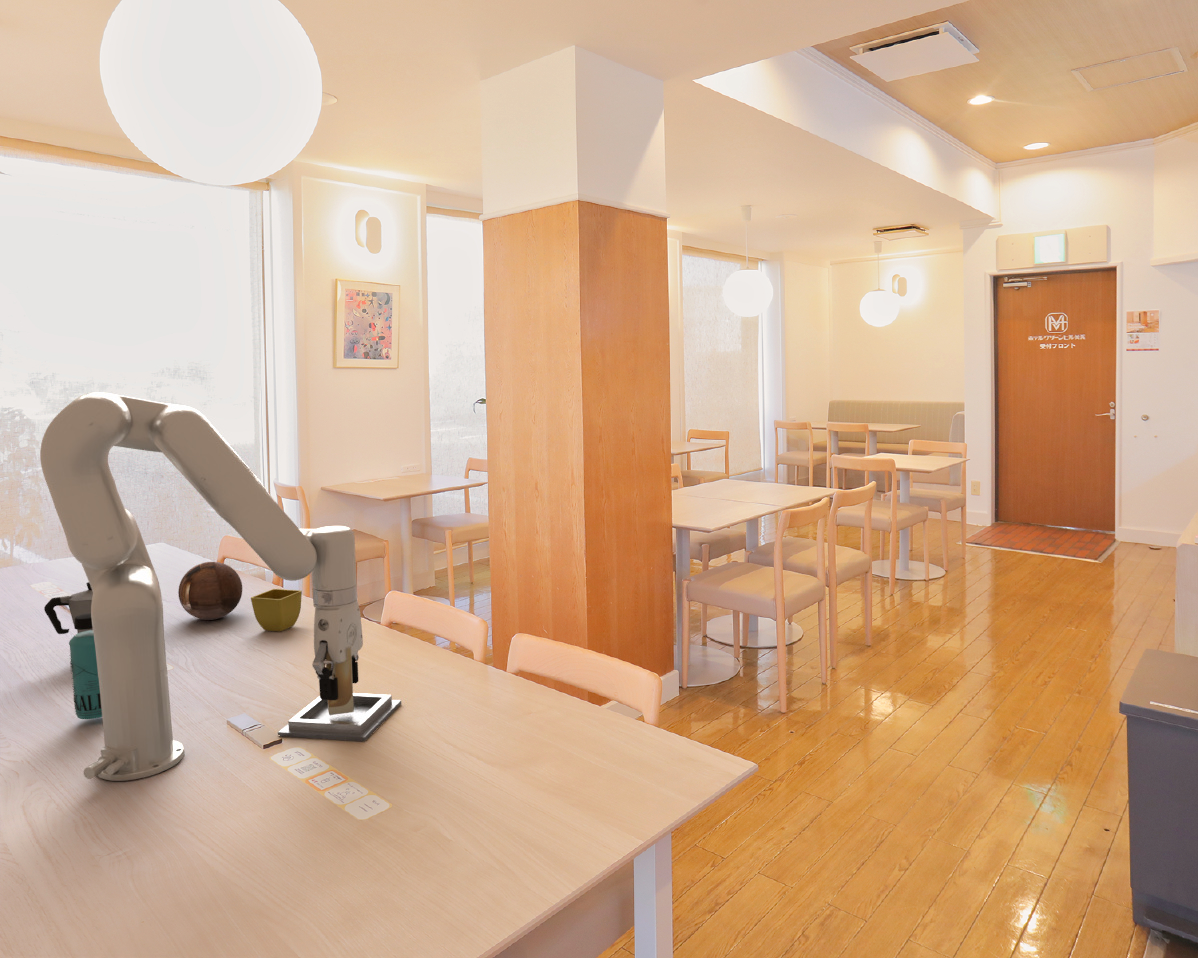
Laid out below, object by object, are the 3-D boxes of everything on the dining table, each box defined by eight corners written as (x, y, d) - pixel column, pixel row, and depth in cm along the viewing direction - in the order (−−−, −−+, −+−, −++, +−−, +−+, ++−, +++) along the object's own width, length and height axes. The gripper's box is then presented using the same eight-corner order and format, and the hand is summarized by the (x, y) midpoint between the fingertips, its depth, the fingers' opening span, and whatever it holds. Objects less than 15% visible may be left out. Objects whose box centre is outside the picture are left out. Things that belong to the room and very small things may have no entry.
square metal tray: (364, 741, 138) (364, 728, 137) (278, 736, 140) (277, 723, 140) (401, 704, 153) (400, 692, 153) (322, 700, 156) (322, 688, 155)
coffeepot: (127, 648, 187) (121, 573, 185) (135, 659, 180) (128, 580, 178) (48, 663, 177) (40, 584, 175) (52, 675, 170) (44, 593, 168)
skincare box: (327, 703, 148) (324, 639, 147) (351, 699, 150) (349, 636, 148) (328, 716, 142) (325, 650, 141) (354, 712, 144) (351, 647, 142)
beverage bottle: (109, 709, 152) (99, 607, 150) (123, 719, 148) (114, 613, 145) (70, 721, 147) (59, 615, 145) (83, 731, 143) (73, 622, 140)
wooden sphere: (234, 606, 220) (231, 553, 219) (251, 619, 209) (247, 562, 207) (174, 617, 211) (170, 561, 209) (188, 631, 200) (184, 572, 198)
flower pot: (251, 632, 198) (249, 597, 197) (275, 622, 206) (273, 588, 205) (281, 635, 195) (279, 599, 194) (304, 624, 204) (302, 590, 203)
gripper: (331, 610, 135) (336, 711, 137) (375, 584, 152) (379, 674, 154) (290, 608, 136) (295, 708, 138) (338, 582, 153) (342, 672, 155)
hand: (339, 689), depth 146 cm, fingers closed on skincare box, 7 cm apart
